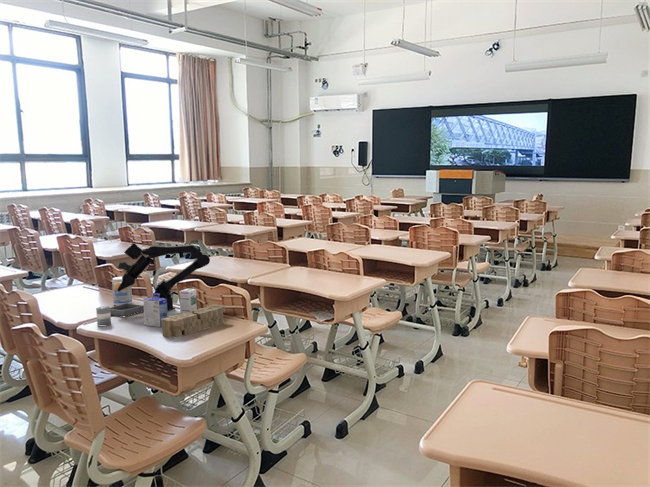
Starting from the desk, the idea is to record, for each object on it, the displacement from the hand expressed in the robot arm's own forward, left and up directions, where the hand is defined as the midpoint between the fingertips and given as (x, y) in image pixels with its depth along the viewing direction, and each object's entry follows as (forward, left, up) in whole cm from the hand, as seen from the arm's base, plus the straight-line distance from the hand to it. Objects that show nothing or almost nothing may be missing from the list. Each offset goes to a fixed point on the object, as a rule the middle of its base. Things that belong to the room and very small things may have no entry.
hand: (118, 289), depth 246 cm
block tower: (-54, +5, -13) cm, 56 cm away
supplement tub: (+16, -15, -13) cm, 26 cm away
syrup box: (-41, -5, -13) cm, 43 cm away
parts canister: (-9, +17, -13) cm, 23 cm away
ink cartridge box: (-33, +8, -13) cm, 36 cm away
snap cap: (-1, -1, 0) cm, 1 cm away
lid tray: (-1, -2, -13) cm, 13 cm away
